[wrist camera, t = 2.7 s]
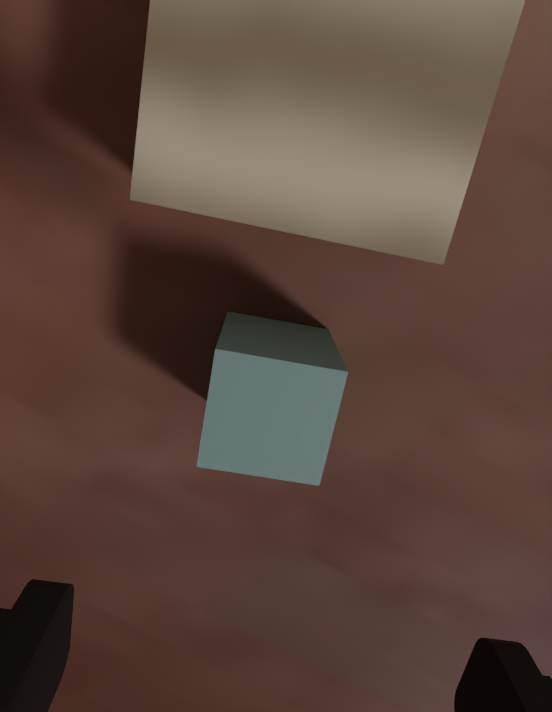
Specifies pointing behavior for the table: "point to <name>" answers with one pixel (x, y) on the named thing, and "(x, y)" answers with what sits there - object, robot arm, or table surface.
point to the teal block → (272, 399)
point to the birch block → (321, 114)
